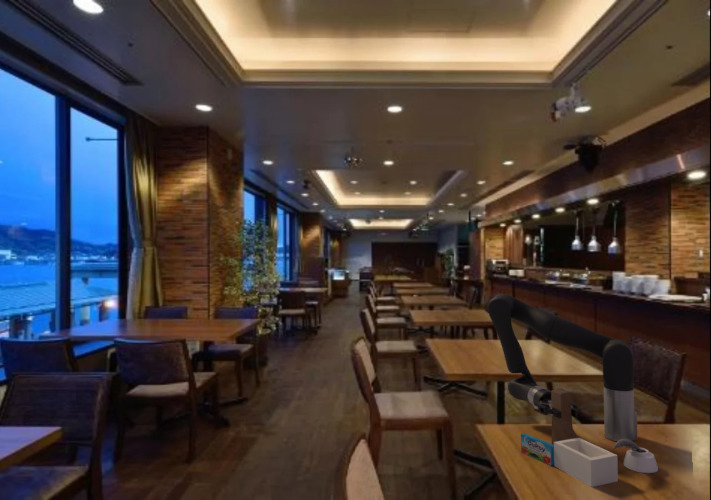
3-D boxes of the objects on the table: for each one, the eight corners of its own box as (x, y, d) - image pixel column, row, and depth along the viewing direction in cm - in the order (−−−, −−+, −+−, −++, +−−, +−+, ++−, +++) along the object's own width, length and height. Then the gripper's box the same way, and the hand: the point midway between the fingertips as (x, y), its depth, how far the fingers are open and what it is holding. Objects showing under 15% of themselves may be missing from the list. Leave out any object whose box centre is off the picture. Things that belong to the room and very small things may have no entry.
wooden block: (583, 453, 158) (582, 395, 158) (572, 455, 156) (571, 397, 156) (562, 443, 166) (561, 388, 166) (551, 445, 164) (550, 389, 165)
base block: (579, 462, 155) (578, 437, 155) (617, 482, 142) (617, 455, 142) (554, 466, 152) (553, 442, 152) (591, 487, 138) (590, 460, 138)
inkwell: (664, 468, 149) (663, 434, 149) (632, 484, 139) (632, 448, 139) (633, 458, 157) (632, 426, 157) (600, 473, 147) (600, 438, 147)
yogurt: (554, 465, 153) (554, 445, 153) (551, 466, 152) (550, 446, 152) (524, 451, 163) (524, 432, 163) (521, 452, 163) (520, 433, 163)
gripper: (522, 389, 175) (546, 404, 159) (561, 387, 177) (589, 401, 160) (523, 411, 175) (547, 428, 159) (562, 408, 177) (590, 425, 160)
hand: (568, 414), depth 159 cm, fingers closed on wooden block, 5 cm apart
